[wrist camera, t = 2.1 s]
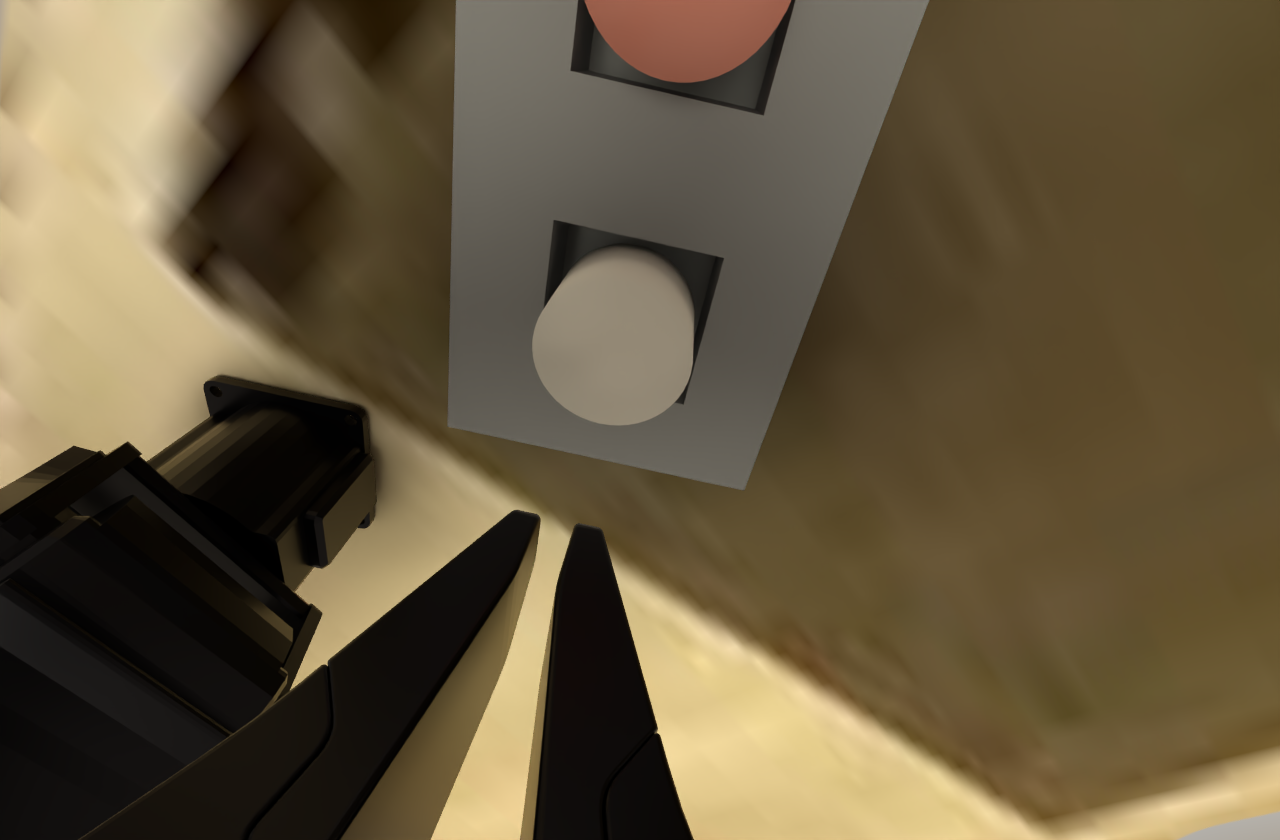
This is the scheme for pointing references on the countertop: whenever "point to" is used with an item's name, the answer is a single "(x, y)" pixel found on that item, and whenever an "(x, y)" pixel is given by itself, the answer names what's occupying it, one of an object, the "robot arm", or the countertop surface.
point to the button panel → (655, 209)
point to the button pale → (617, 336)
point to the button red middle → (686, 34)
